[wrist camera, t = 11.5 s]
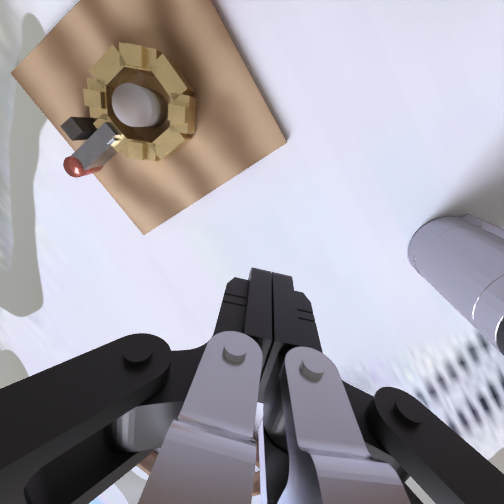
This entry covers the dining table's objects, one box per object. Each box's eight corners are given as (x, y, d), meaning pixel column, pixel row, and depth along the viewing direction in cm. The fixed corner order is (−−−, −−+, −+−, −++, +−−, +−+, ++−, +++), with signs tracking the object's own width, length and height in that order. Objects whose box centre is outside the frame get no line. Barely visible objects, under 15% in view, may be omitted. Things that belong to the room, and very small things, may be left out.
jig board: (167, -80, 27) (139, -138, 21) (286, 142, 35) (290, 145, 29) (17, 74, 33) (-37, 63, 27) (146, 232, 41) (126, 250, 35)
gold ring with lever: (214, 119, 33) (206, 118, 29) (118, 201, 38) (99, 211, 34) (151, 28, 30) (131, 12, 25) (54, 131, 35) (24, 132, 30)
